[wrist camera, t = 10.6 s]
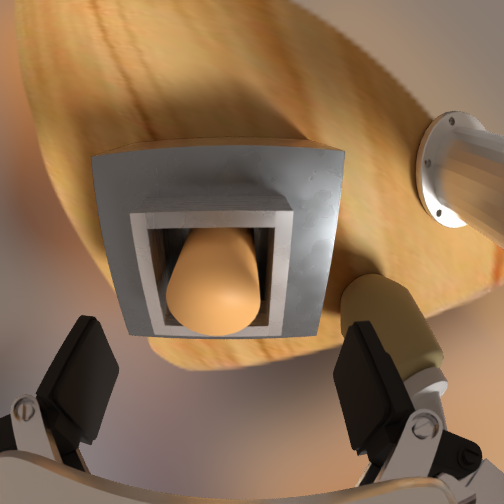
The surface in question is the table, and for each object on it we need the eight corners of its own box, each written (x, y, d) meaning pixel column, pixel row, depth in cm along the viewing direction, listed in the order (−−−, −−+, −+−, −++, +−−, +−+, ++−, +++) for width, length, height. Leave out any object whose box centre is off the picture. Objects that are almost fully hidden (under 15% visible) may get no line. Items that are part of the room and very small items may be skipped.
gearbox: (309, 139, 21) (364, 158, 11) (296, 278, 27) (324, 360, 17) (137, 142, 20) (67, 164, 11) (153, 278, 26) (120, 359, 16)
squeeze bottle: (334, 266, 26) (418, 431, 10) (402, 259, 26) (504, 385, 10) (326, 327, 30) (375, 473, 14) (387, 317, 30) (454, 439, 14)
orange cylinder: (254, 198, 20) (264, 260, 12) (252, 254, 22) (259, 336, 14) (191, 198, 19) (158, 258, 11) (195, 253, 21) (172, 334, 13)
